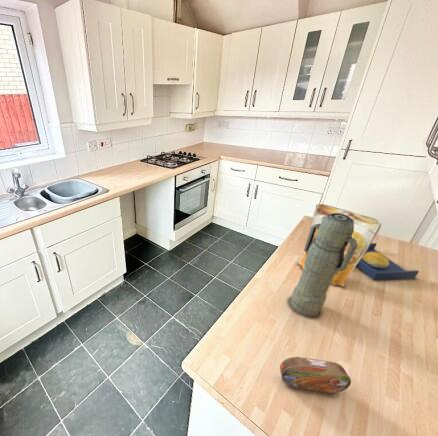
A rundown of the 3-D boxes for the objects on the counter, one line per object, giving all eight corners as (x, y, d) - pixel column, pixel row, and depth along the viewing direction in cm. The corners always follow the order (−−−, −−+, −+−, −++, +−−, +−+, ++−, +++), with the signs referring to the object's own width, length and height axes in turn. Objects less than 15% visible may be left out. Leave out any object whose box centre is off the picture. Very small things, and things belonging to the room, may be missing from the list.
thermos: (315, 325, 77) (359, 230, 60) (280, 300, 86) (310, 213, 69) (329, 312, 81) (374, 221, 64) (294, 290, 90) (325, 205, 73)
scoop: (372, 249, 111) (375, 243, 109) (414, 278, 94) (419, 271, 92) (317, 251, 110) (320, 245, 109) (350, 281, 93) (353, 274, 92)
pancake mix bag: (300, 258, 106) (321, 200, 92) (352, 284, 92) (385, 219, 78) (292, 264, 103) (312, 205, 89) (344, 291, 89) (377, 226, 75)
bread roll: (358, 262, 102) (362, 254, 100) (365, 254, 107) (368, 246, 105) (384, 272, 96) (389, 264, 94) (389, 263, 101) (394, 255, 99)
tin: (278, 384, 62) (286, 365, 58) (275, 372, 64) (282, 353, 60) (344, 396, 59) (358, 376, 55) (338, 382, 62) (350, 363, 58)
